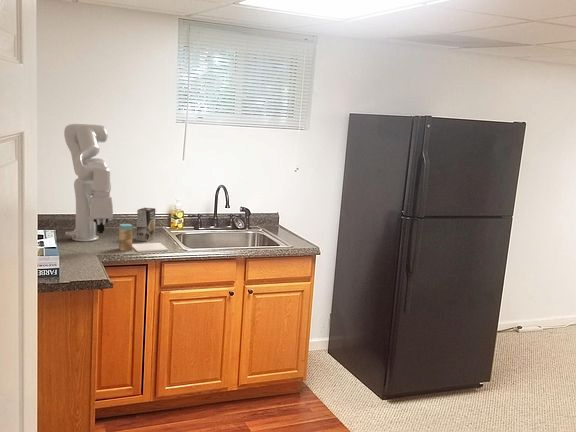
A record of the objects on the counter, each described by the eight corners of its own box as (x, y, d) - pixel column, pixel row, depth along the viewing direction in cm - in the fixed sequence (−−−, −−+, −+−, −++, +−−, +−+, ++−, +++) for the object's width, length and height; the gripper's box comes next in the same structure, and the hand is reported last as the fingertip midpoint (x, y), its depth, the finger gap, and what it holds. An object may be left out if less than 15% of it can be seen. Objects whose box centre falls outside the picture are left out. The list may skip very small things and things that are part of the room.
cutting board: (137, 252, 278) (137, 250, 278) (130, 245, 290) (130, 244, 290) (168, 250, 286) (168, 249, 286) (159, 244, 298) (159, 242, 298)
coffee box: (147, 241, 301) (148, 210, 298) (135, 240, 302) (136, 209, 300) (155, 238, 310) (156, 208, 307) (143, 237, 311) (144, 207, 308)
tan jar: (121, 250, 279) (122, 226, 277) (118, 248, 284) (119, 224, 281) (131, 250, 282) (132, 225, 280) (129, 247, 286) (130, 223, 284)
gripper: (85, 195, 265) (85, 235, 269) (119, 195, 273) (118, 233, 276) (82, 192, 272) (82, 231, 275) (115, 192, 279) (114, 230, 282)
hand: (100, 232), depth 275 cm, fingers closed
